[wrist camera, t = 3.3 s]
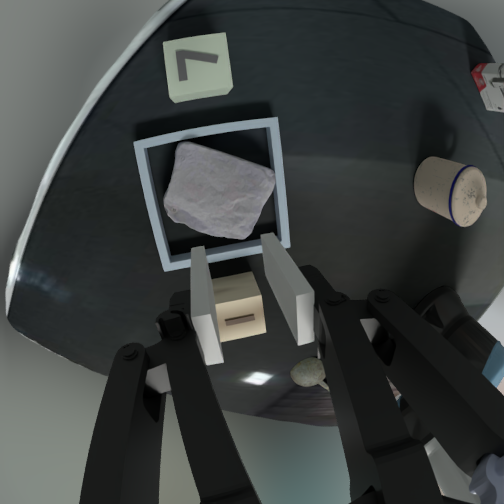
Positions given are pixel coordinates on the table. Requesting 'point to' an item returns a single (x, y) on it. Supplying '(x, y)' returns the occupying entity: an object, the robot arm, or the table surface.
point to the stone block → (217, 191)
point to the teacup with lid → (451, 190)
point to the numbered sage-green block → (197, 67)
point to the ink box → (490, 84)
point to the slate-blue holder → (227, 250)
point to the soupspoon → (309, 373)
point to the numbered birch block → (238, 306)
